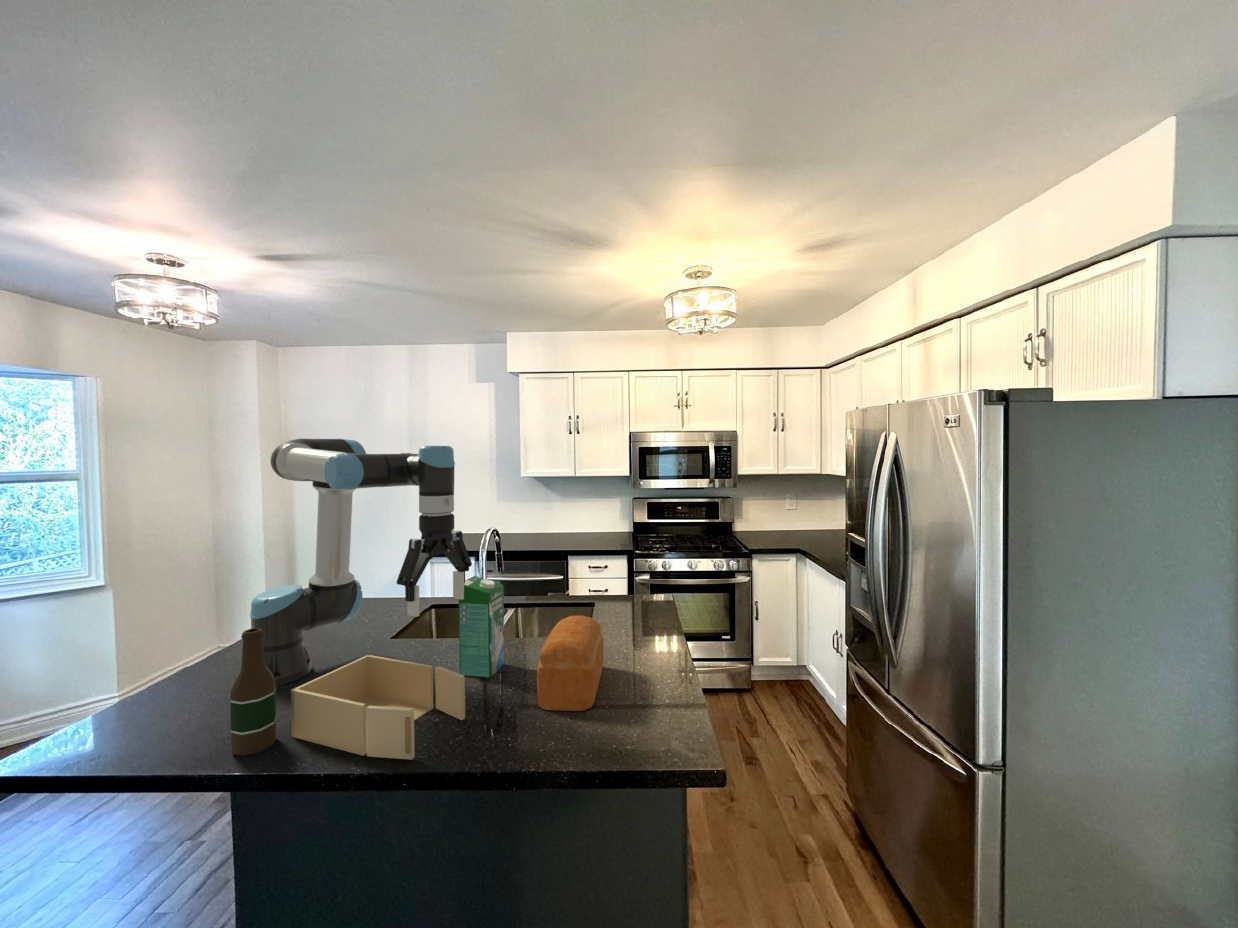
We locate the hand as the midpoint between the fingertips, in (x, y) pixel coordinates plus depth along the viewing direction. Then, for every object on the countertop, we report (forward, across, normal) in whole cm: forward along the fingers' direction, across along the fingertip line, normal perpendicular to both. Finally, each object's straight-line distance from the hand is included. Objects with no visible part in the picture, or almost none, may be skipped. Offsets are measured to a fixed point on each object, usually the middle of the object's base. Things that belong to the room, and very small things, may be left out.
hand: (437, 606), depth 115 cm
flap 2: (+25, +1, -3) cm, 25 cm away
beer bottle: (+26, -25, +25) cm, 44 cm away
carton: (+25, -9, +12) cm, 29 cm away
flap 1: (+25, -17, -4) cm, 30 cm away
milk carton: (+26, +24, +7) cm, 35 cm away
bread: (+25, +25, -21) cm, 41 cm away
